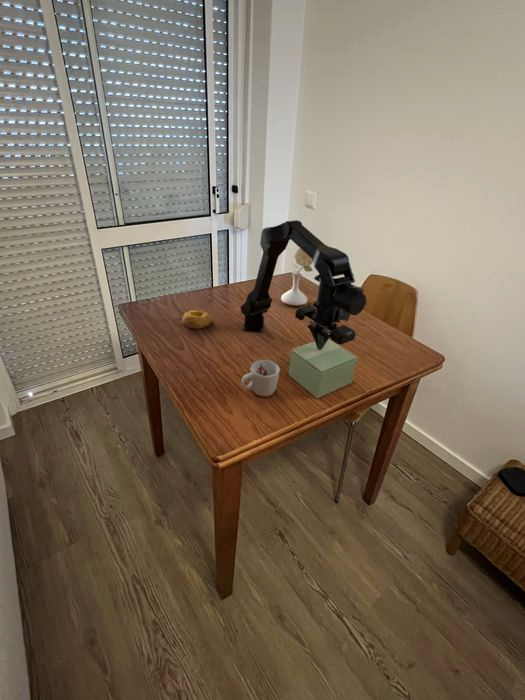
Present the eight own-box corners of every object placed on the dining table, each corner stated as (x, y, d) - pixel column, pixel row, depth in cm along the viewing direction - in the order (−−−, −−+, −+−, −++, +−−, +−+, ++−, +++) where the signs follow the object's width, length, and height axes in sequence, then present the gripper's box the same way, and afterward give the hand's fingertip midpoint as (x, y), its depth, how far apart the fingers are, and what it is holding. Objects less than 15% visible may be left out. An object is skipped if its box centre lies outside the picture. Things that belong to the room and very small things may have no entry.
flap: (291, 350, 102) (291, 349, 102) (326, 338, 109) (326, 337, 109) (305, 360, 98) (305, 359, 98) (340, 347, 105) (341, 346, 105)
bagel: (215, 326, 130) (215, 315, 127) (186, 332, 126) (185, 320, 123) (207, 315, 137) (206, 304, 135) (179, 320, 133) (178, 308, 130)
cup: (246, 405, 94) (247, 381, 90) (236, 387, 100) (236, 364, 96) (282, 396, 98) (284, 373, 94) (270, 379, 104) (272, 357, 100)
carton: (288, 374, 107) (291, 349, 102) (322, 361, 114) (326, 337, 109) (317, 398, 98) (321, 371, 93) (351, 382, 105) (357, 357, 100)
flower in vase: (275, 303, 151) (280, 244, 137) (289, 295, 159) (295, 239, 145) (302, 312, 145) (309, 251, 131) (314, 303, 153) (323, 245, 139)
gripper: (374, 307, 92) (362, 356, 100) (325, 283, 104) (318, 329, 113) (345, 316, 86) (334, 368, 94) (296, 290, 99) (291, 337, 107)
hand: (319, 349), depth 102 cm, fingers closed
